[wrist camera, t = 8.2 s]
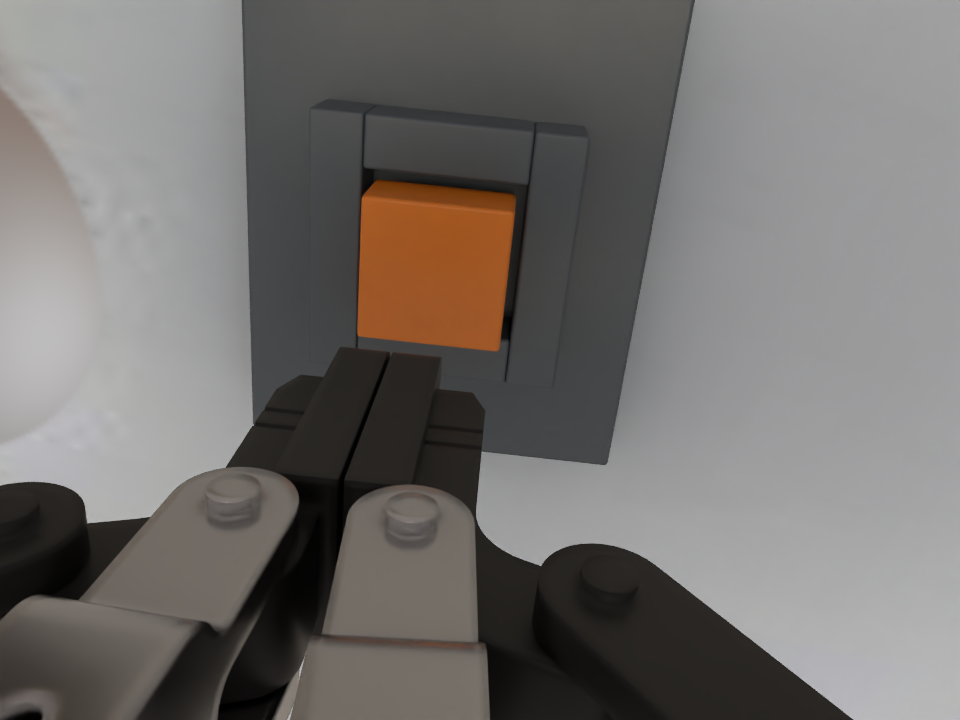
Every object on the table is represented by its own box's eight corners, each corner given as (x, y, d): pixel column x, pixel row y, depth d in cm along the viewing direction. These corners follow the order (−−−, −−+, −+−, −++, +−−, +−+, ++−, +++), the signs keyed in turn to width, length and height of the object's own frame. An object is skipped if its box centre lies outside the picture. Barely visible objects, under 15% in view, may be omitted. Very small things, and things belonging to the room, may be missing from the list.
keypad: (258, -49, 19) (212, -57, 16) (685, -4, 19) (712, -5, 16) (267, 404, 24) (233, 456, 21) (603, 441, 24) (613, 499, 21)
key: (375, 178, 18) (360, 195, 16) (516, 193, 18) (514, 211, 16) (370, 309, 19) (356, 338, 18) (501, 324, 19) (498, 353, 18)
